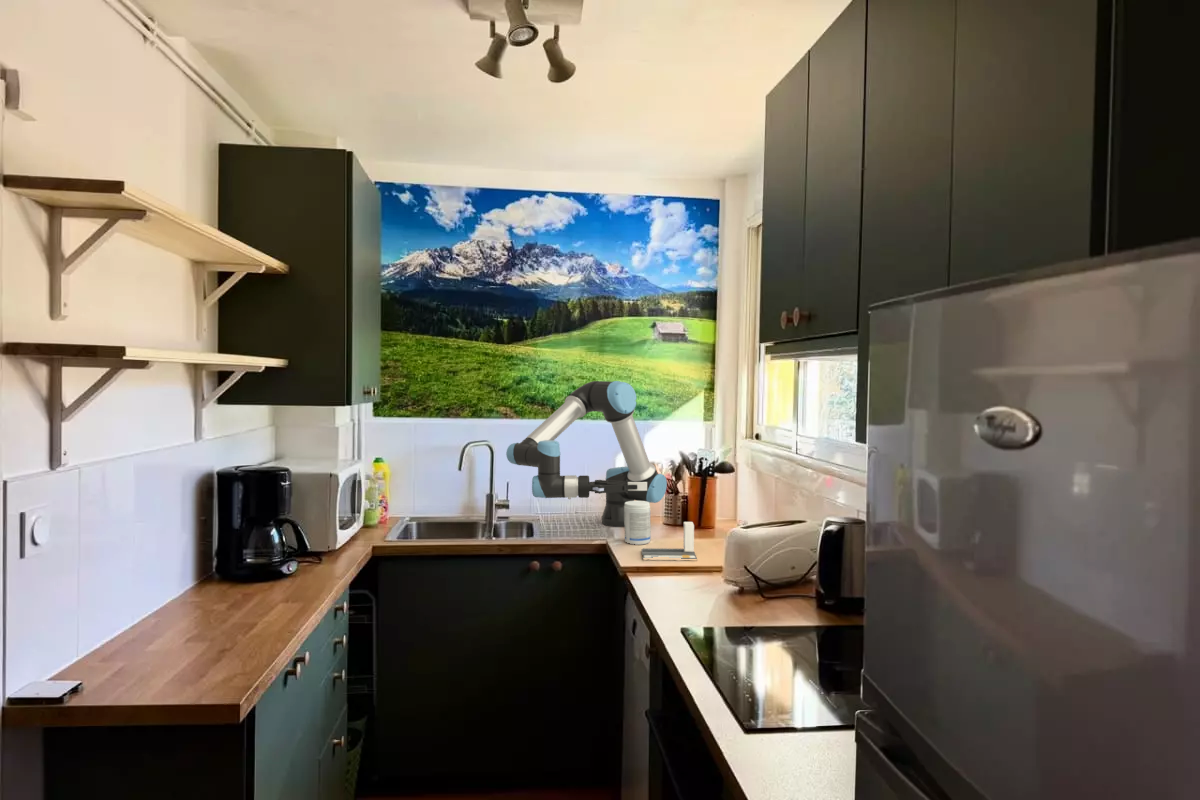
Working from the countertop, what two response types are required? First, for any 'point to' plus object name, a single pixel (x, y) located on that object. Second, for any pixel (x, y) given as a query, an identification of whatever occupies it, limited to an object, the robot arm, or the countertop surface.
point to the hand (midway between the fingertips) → (646, 486)
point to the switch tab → (688, 537)
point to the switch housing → (668, 553)
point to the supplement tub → (637, 522)
